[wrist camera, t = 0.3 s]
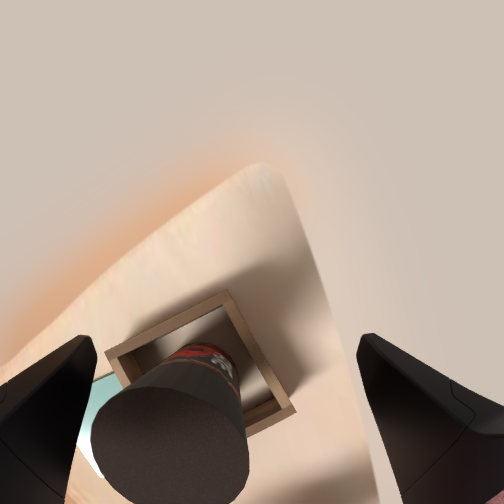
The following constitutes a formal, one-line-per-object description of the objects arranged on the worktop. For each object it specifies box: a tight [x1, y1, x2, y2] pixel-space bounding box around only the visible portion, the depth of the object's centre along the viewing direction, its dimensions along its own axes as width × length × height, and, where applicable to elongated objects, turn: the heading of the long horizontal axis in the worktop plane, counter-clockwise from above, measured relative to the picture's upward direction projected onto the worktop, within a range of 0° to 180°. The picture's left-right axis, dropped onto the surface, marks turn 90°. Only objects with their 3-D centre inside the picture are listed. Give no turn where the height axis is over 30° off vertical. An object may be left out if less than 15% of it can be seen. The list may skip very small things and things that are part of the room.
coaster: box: [77, 373, 123, 478], centre depth 21 cm, size 9×9×1 cm
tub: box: [104, 289, 297, 438], centre depth 21 cm, size 11×11×4 cm
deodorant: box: [90, 343, 249, 504], centre depth 15 cm, size 6×6×15 cm
